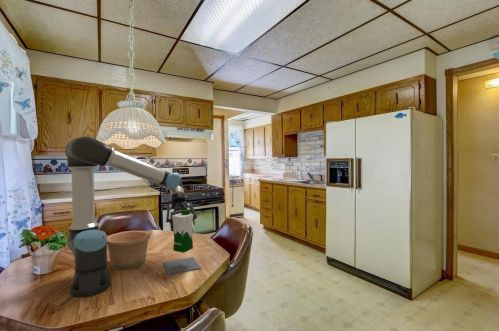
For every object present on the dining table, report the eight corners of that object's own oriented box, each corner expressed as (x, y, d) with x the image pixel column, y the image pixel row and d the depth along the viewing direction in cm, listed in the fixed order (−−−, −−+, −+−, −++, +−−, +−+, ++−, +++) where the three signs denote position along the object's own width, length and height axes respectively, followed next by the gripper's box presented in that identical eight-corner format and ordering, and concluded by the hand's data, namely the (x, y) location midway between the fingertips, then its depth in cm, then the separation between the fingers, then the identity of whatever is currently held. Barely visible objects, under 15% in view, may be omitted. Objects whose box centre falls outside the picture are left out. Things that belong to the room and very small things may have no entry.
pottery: (117, 276, 119) (117, 245, 119) (97, 264, 132) (97, 237, 132) (158, 261, 136) (158, 235, 136) (137, 252, 150) (137, 228, 149)
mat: (167, 275, 120) (167, 274, 120) (163, 263, 134) (163, 262, 134) (200, 268, 127) (200, 267, 127) (193, 257, 141) (193, 257, 141)
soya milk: (195, 248, 132) (195, 210, 131) (183, 254, 124) (182, 213, 123) (182, 245, 136) (182, 208, 135) (170, 251, 128) (169, 211, 127)
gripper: (195, 198, 149) (203, 232, 135) (157, 201, 140) (161, 238, 126) (197, 190, 144) (206, 225, 130) (158, 193, 135) (162, 230, 121)
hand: (184, 231), depth 128 cm, fingers closed on soya milk, 8 cm apart
